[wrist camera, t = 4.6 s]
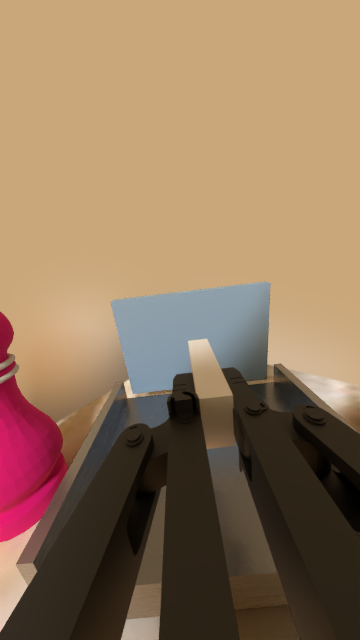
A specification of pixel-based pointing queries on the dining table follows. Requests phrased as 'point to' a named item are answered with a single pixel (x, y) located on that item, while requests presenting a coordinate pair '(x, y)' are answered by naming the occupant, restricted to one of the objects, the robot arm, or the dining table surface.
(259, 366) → the panel
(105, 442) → the cart bed
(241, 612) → the dining table surface
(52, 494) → the pepper mill
